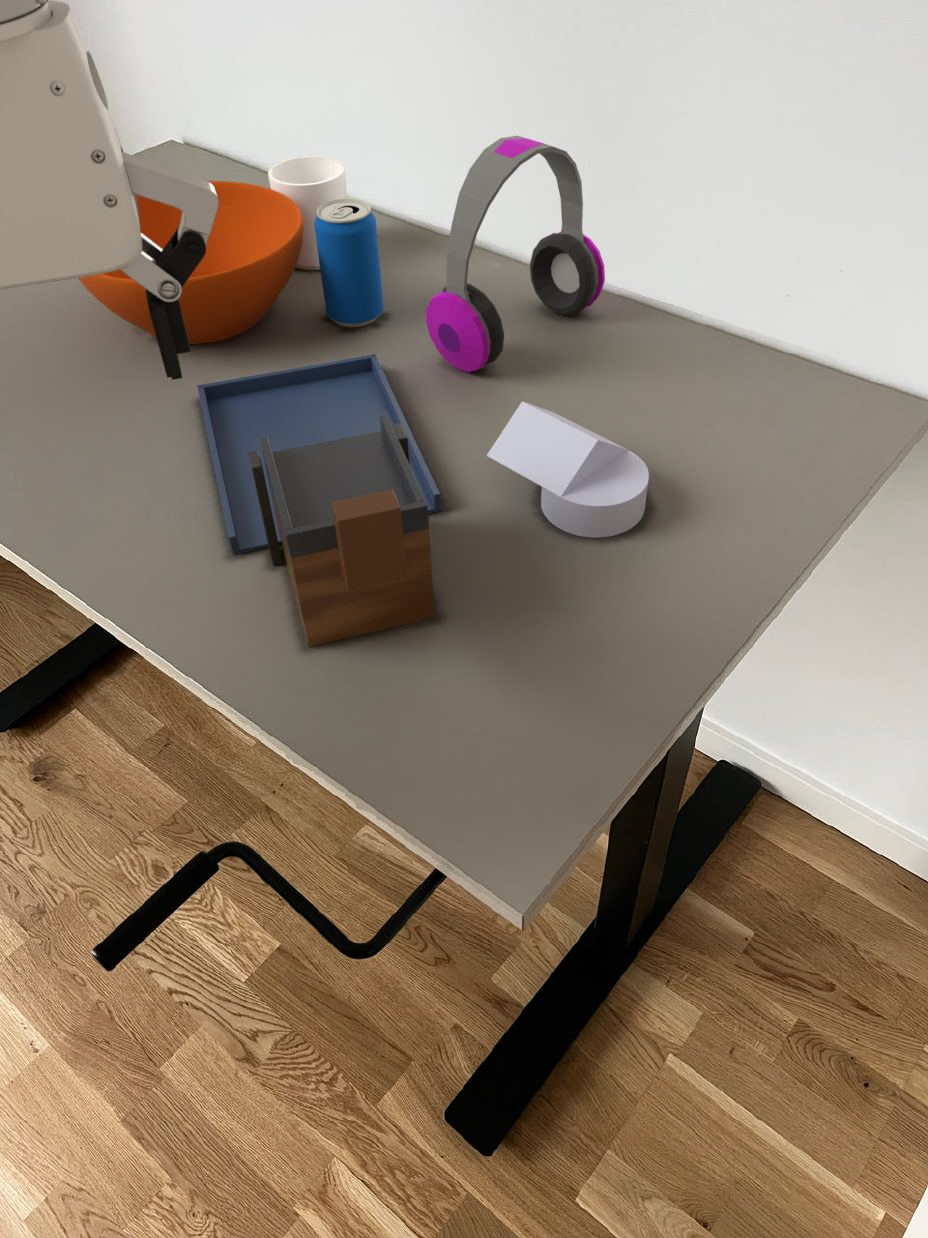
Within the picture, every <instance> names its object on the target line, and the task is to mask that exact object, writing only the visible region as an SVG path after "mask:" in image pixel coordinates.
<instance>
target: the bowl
mask: <svg viewBox="0 0 928 1238" xmlns="http://www.w3.org/2000/svg"><path fill="white" fill-rule="evenodd" d="M207 181H208V182H209V183H211V184H212V185H213V186H214V187H215V190H216V194H217V197H218V200H219V206H218V209H217V213H216V216H215V220H214V223H213V226H212V230H211V233H210V236H209V238H208V241H207V244H206V253H205V255H204V257H203V259H202V260H201V261H200V263H199V264H198V266H197V267H196V268H195V270H194V271H193V273H192V274H191V276H190V277H189V278H188V280H187V281H186V283H185V284H184V285H183V287H182V294H181V296H180V298H179V303H180V307H181V311H182V315H183V319H184V323H185V327H186V331H187V335H188V340H189V344H190V345H196V344H207V343H214V342H218V341H219V342H220V341H222V340H223V341H224V340H227V339H229V338H230V339H231V338H233V337H235V336H237V335H239V334H240V335H241V334H243V333H245V332H246V331H248V330H249V329H251V328H252V327H254V326H255V325H256V324H257V323H258V322H260V320H261V319H262V318H263V317H264V314H265V313H266V312H267V311H268V309H270V307H271V306H272V305H273V303H274V302H275V301H277V299H278V297H279V296H280V295H281V294H282V292H283V290H284V289H285V287H286V285H287V284H288V283H289V281H290V279H291V277H292V275H293V273H294V271H295V269H296V267H295V266H296V264H297V261H298V258H299V255H300V251H301V247H302V241H303V229H304V227H303V218H302V214H301V211H300V210H299V208H298V206H297V205H296V204H295V203H294V202H293V201H292V200H291V199H289V198H288V197H286V196H285V195H283V194H281V193H279V192H277V191H274V190H272V189H271V188H269V187H265V186H261V185H257V184H252V183H247V182H238V181H227V180H207ZM136 198H137V202H138V208H139V214H140V221H139V223H140V232H141V233H142V234H144V235H145V236H146V237H147V238H149V239H150V240H151V241H153V242H154V243H155V244H157V245H158V246H159V247H160V248H162V249H164V247H165V246H166V244H167V243H168V241H169V240H170V238H171V237H172V236H173V234H174V233H175V231H176V230H177V228H178V227H179V226H180V222H181V216H182V211H181V210H180V209H178V208H175V207H172V206H169V205H166V204H163V203H160V202H157V201H154V200H151V199H148V198H145V197H142V196H139V195H136ZM78 280H79V281H80V283H81V285H83V286H84V288H85V289H86V290H87V291H88V292H89V293H90V294H91V295H92V296H93V297H94V298H95V299H96V300H97V301H98V302H99V303H101V304H102V305H103V306H104V307H105V308H107V309H108V310H110V312H112V313H113V314H115V315H116V316H118V317H119V318H121V319H123V320H125V321H126V322H128V323H129V324H132V325H133V326H135V327H137V328H139V329H141V330H143V331H144V332H146V333H148V334H149V335H150V336H152V337H154V338H156V334H155V331H154V327H153V323H152V320H151V316H150V312H149V308H148V302H147V295H146V289H145V288H144V287H143V286H141V285H140V284H139V283H137V282H136V281H135V280H133V279H132V278H130V277H129V276H128V275H126V274H125V273H124V272H122V271H121V270H115V271H112V272H107V273H102V274H97V275H91V276H85V277H79V278H78Z"/></svg>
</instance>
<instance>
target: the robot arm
mask: <svg viewBox="0 0 928 1238" xmlns="http://www.w3.org/2000/svg"><path fill="white" fill-rule="evenodd" d="M208 181H209V180H204V179H202V178H199V177H197V176H193V175H191V174H187V173H185V172H181V171H179V170H177V169H173V168H170V167H167V166H164V165H161V164H159V163H156V162H153V161H150V160H148V159H144V158H142V157H138V156H137V155H133V154H130V153H127V152H124V148H123V146H122V142H121V138H120V136H119V133H118V129H117V126H116V123H115V119H114V117H113V113H112V111H111V108H110V104H109V101H108V97H107V95H106V92H105V89H104V86H103V83H102V79H101V78H100V75H99V72H98V69H97V66H96V63H95V61H94V59H93V57H92V54H91V52H90V48H89V47H88V44H87V41H86V39H85V37H84V34H83V33H82V30H81V28H80V26H79V24H78V22H77V20H76V18H75V14H74V13H73V11H72V9H71V7H70V5H69V4H67V3H66V2H63V1H60V0H0V290H6V289H14V288H21V287H27V286H34V285H40V284H46V283H52V282H59V281H66V280H72V279H79V277H85V276H91V275H97V274H102V273H107V272H112V271H115V270H121V271H122V272H124V273H125V274H126V275H128V276H129V277H130V278H132V279H133V280H135V281H136V282H137V283H139V284H140V285H141V286H143V287H144V288H145V289H146V295H147V302H148V308H149V312H150V316H151V320H152V323H153V327H154V331H155V334H156V337H155V338H156V341H157V342H156V343H157V345H158V349H159V353H160V357H161V360H162V363H163V367H164V370H165V375H166V378H171V380H180V379H183V374H182V369H181V368H182V367H181V362H180V357H179V355H181V354H185V353H186V354H187V353H191V352H192V349H191V344H189V340H188V335H187V331H186V327H185V323H184V319H183V315H182V311H181V307H180V303H179V298H180V296H181V294H182V287H183V285H184V284H185V283H186V281H187V280H188V278H189V277H190V276H191V274H192V273H193V271H194V270H195V268H196V267H197V266H198V264H199V263H200V261H201V260H202V259H203V257H204V255H205V253H206V244H207V241H208V238H209V236H210V233H211V230H212V226H213V223H214V220H215V216H216V213H217V209H218V206H219V200H218V197H217V194H216V190H215V187H214V186H213V185H212V184H211V183H209V182H208ZM136 195H139V196H142V197H145V198H148V199H151V200H154V201H157V202H160V203H163V204H166V205H169V206H172V207H175V208H178V209H180V210H181V211H182V216H181V222H180V226H179V227H178V228H177V230H176V231H175V233H174V234H173V236H172V237H171V238H170V240H169V241H168V243H167V244H166V246H165V247H164V249H162V248H160V247H159V246H158V245H157V244H155V243H154V242H153V241H151V240H150V239H149V238H147V237H146V236H145V235H144V234H142V233H141V232H140V223H139V221H140V214H139V208H138V202H137V198H136Z"/></svg>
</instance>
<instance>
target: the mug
mask: <svg viewBox="0 0 928 1238" xmlns="http://www.w3.org/2000/svg"><path fill="white" fill-rule="evenodd" d="M267 176H268V182H269V186H270V189H272V190H274V191H277V192H279V193H281V194H283V195H285V196H286V197H288V198H289V199H291V200H292V201H293V202H294V203H295V204H296V205H297V206H298V208H299V210H300V211H301V214H302V218H303V227H304V229H303V241H302V247H301V251H300V255H299V258H298V261H297V264H296V266H295V269H299V270H303V271H305V270H306V271H320V264H319V257H318V249H317V242H316V234H315V227H314V222H315V219H316V217H317V209H318V208H319V207H320V206H321V205H322V204H324V203H327V202H329V201H333V200H338V199H348V197H347V181H346V179H347V178H346V168H345V165H344V163H343V162H342V161H340V160H338V159H336V158H332V157H329V156H322V155H321V156H320V155H303V156H297V157H296V156H295V157H291V158H287V159H284V160H281V161H279V162H277V163H274V164H273V165H272V166H271V167H270V168H268V171H267Z"/></svg>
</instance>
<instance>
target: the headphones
mask: <svg viewBox="0 0 928 1238" xmlns="http://www.w3.org/2000/svg"><path fill="white" fill-rule="evenodd" d="M539 154H540V155H541V156H542V158H544V159H545V162H547V164H548V166H549V168H550V170H551V171H552V173H553V175H554V176H555V178H556V179H555V180H556V183H557V188H558V193H559V198H560V212H561V213H560V214H561V230H560V231H559V232H553V233H551V234H548V235H546V236H544V237H543V238H541V239H540V240H539V242H537V244H536V246H535V247H534V248H533V249H532V253H531V257H530V263H529V272H530V281H531V285H532V287H533V289H534V292H535V295H536V296H537V297H538V299H539V300H540V301H541V302H542V304H543V306H545V307H546V308H548V309H549V310H551V311H552V312H553V313H555V314H556V315H562V316H568V317H569V316H572V315H576V314H579V313H581V312H583V311H584V309H586V308H589V307H590V306H592V305H593V303H594V302H596V300H597V299H598V298H599V296H600V295H601V294H602V291H603V288H604V285H605V283H606V273H605V271H606V270H605V263H604V261H603V257H602V254H601V252H600V249H599V248H598V247H597V245H596V244H595V243H594V242H593V240H592V239H591V238H590V237H588V236H587V235H586V234H584V232H583V217H584V215H583V213H584V199H583V185H582V183H583V181H582V178H581V175H580V173H579V169H578V166H577V165H578V164H577V163H576V162H575V160H573V159H574V158H572V157H571V155H570V154H569V153H568V152H567V151H566V150H563V149H561V148H558V147H556V146H553V145H550V144H547V143H544V142H540V141H537V140H533V139H531V138H528V137H524V136H520V135H512V136H506V137H500V138H498V139H497V140H496V141H494V142H493V143H491V144H490V145H488V146H486V148H484V149H483V150H482V152H481V153H480V154H479V155H478V157H476V159H475V161H474V162H473V163H472V165H471V167H470V168H469V169H468V172H467V175H466V177H465V179H464V181H463V182H462V183H463V184H462V186H461V188H460V189H459V192H458V196H457V201H456V204H455V207H454V213H453V218H452V222H451V227H450V231H449V239H448V244H447V249H446V286H444V288H443V289H442V290H441V292H439V293H437V294H434V295H433V296H432V297H431V299H430V301H429V303H428V304H427V306H426V309H425V323H426V327H427V332H428V334H429V337H430V339H431V341H432V343H433V345H434V347H435V349H436V351H438V353H439V355H441V356H442V358H443V359H444V360H445V361H446V363H448V364H450V365H451V366H452V367H454V368H455V369H456V370H459V371H463V372H466V373H471V372H474V371H475V372H476V371H478V370H481V369H483V368H484V366H485V365H487V364H492V363H494V362H495V361H496V360H497V359H498V358H499V357H500V355H501V354H502V352H503V350H504V342H505V331H504V326H503V321H502V318H501V316H500V314H499V312H498V310H497V307H496V306H495V304H494V303H493V302H492V301H491V299H490V298H489V297H488V296H487V294H486V293H485V292H483V291H481V290H480V289H479V288H478V287H476V286H475V285H473V284H471V283H468V277H469V276H468V275H469V263H470V260H471V255H472V252H473V250H474V249H473V248H474V246H475V242H476V239H477V235H478V233H479V231H480V228H481V226H482V224H483V221H484V220H485V217H486V215H487V212H488V210H489V208H490V206H491V204H492V203H493V202H494V201H495V199H496V197H497V195H498V194H499V192H500V190H501V189H502V187H503V185H504V184H505V183H506V182H507V181H508V180H509V179H510V178H511V176H512V175H513V174H514V173H515V172H516V171H517V170H518V168H519V167H520V166H522V165H523V164H525V163H526V162H528V161H529V160H531V159H532V158H534V157H535V156H537V155H539Z"/></svg>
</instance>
